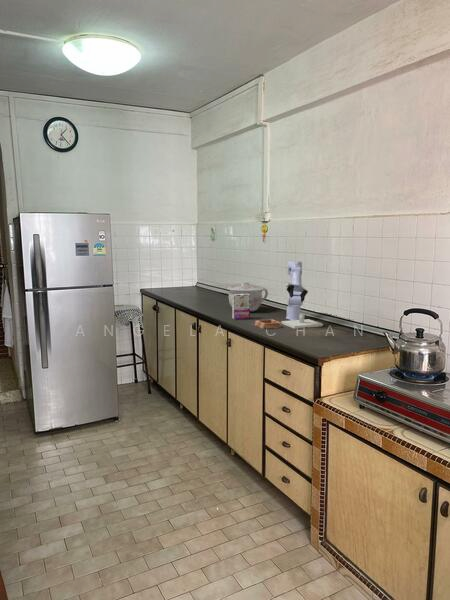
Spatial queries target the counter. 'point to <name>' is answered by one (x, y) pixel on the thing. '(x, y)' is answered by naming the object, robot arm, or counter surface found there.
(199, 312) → the counter surface
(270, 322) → the loop
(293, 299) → the robot arm
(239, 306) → the candy bar box
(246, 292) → the chamber pot
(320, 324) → the hook board
